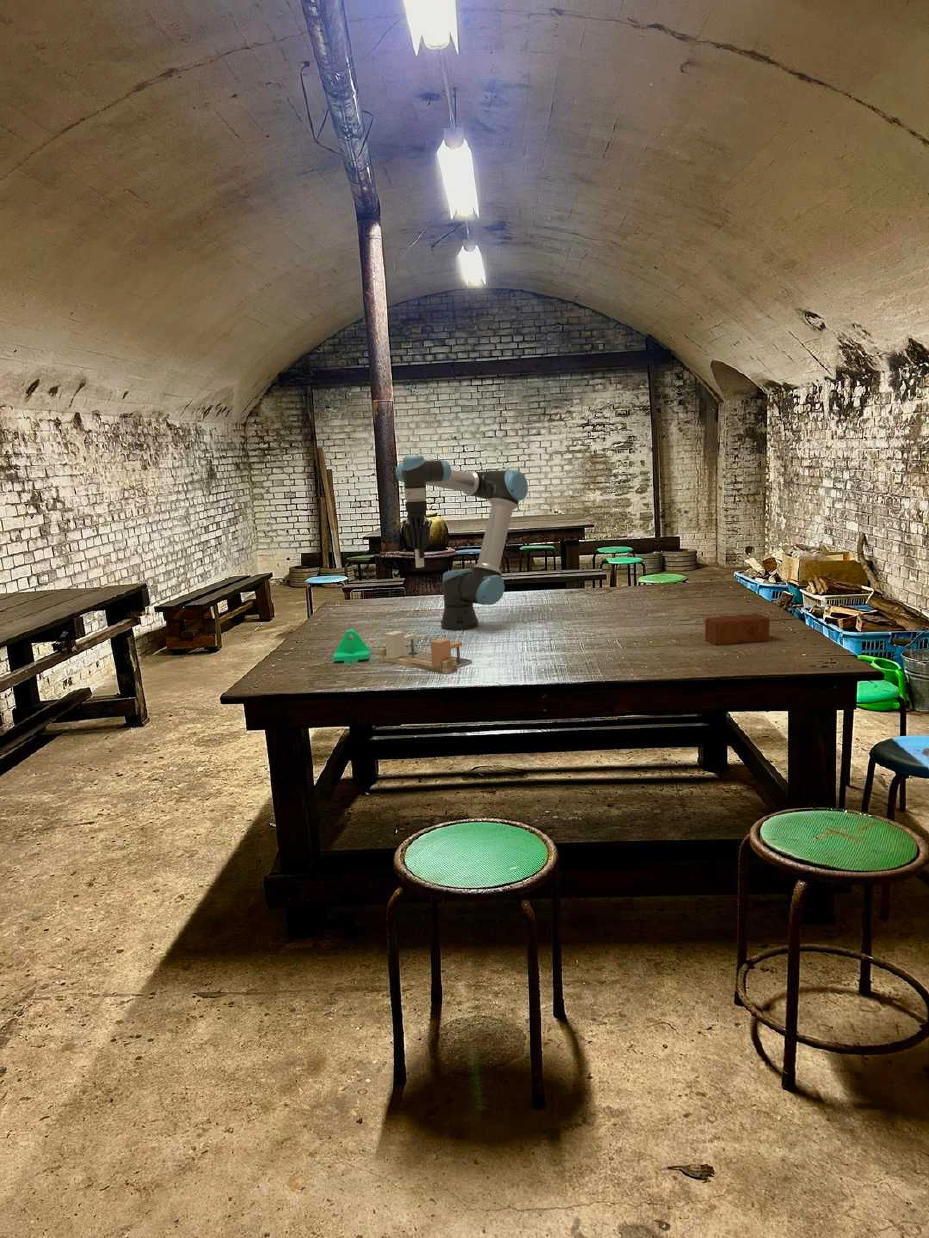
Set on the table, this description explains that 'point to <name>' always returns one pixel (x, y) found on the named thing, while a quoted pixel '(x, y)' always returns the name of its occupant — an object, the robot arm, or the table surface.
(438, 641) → the slider leg
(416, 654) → the hole plate
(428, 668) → the rail
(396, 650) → the fixed leg
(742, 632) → the brick
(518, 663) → the table surface
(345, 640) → the camera mount
